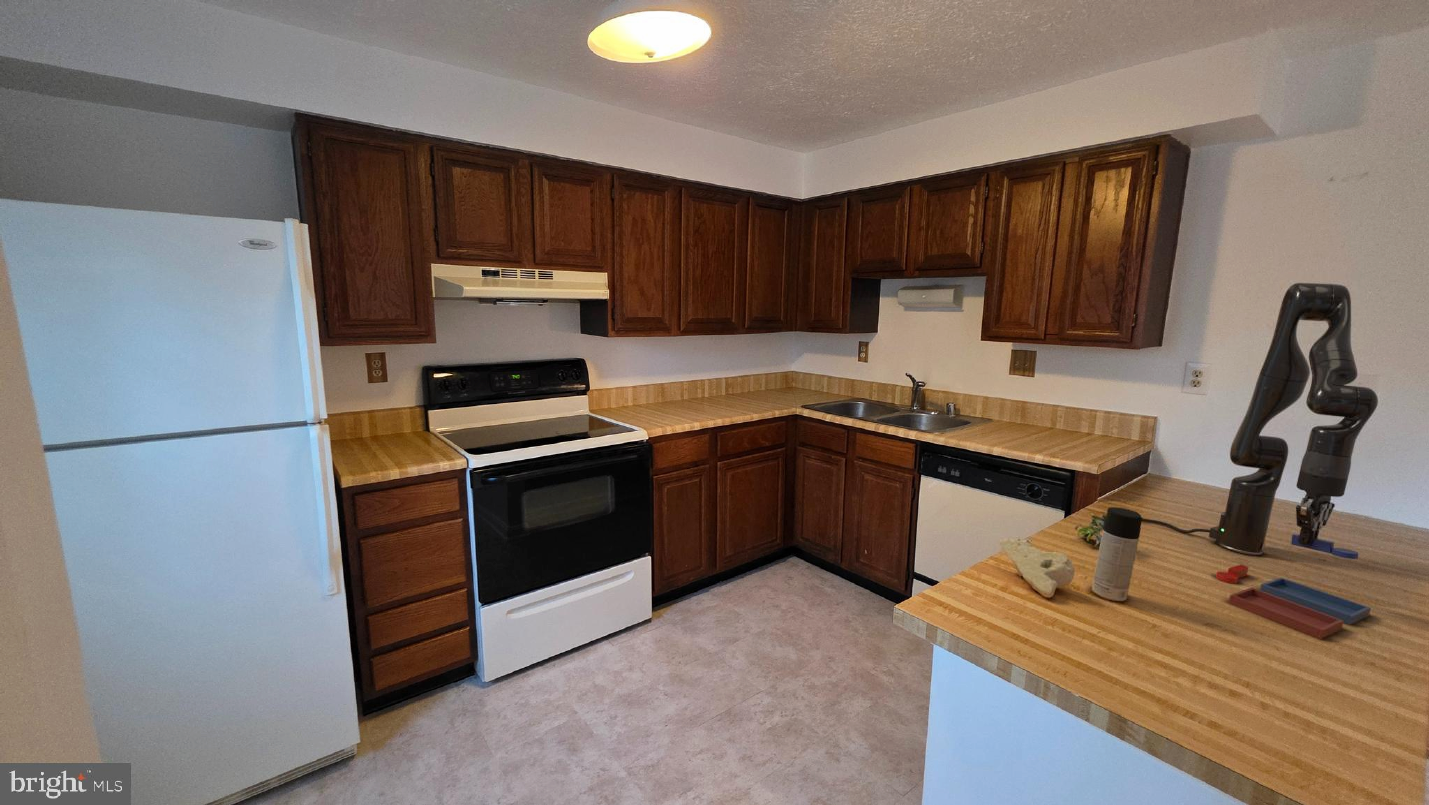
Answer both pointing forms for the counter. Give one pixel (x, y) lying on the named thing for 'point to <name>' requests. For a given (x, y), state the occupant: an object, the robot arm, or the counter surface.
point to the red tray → (1286, 612)
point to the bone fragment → (1039, 566)
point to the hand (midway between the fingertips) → (1306, 543)
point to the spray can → (1117, 554)
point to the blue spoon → (1326, 547)
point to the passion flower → (1090, 530)
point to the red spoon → (1233, 574)
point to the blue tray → (1316, 600)
